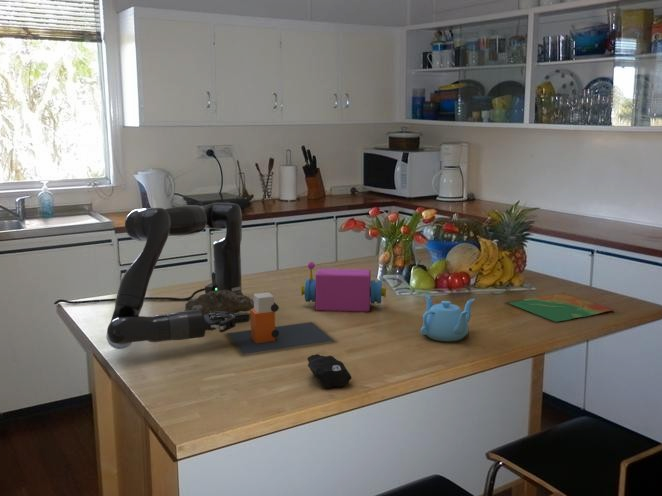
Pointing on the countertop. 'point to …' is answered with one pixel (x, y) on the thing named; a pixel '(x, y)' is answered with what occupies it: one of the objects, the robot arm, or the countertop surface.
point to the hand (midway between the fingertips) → (248, 317)
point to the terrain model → (560, 307)
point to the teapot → (445, 320)
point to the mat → (281, 338)
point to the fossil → (220, 302)
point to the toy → (342, 289)
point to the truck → (263, 318)
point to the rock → (328, 370)
